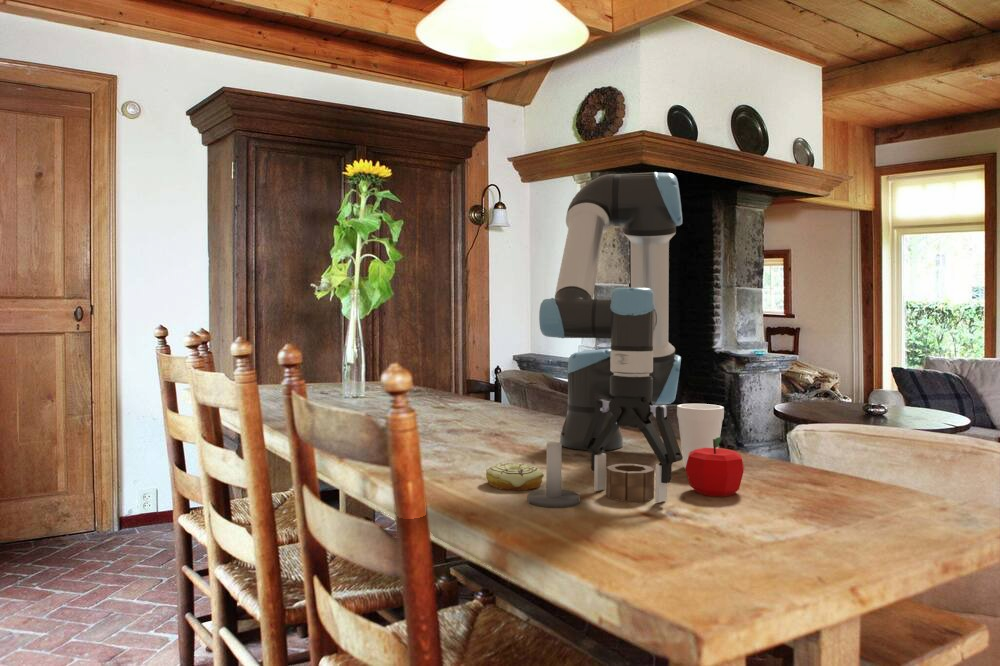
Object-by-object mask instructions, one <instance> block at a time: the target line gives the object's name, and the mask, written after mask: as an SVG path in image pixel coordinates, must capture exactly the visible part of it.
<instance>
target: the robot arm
mask: <svg viewBox="0 0 1000 666" xmlns="http://www.w3.org/2000/svg"><path fill="white" fill-rule="evenodd" d="M679 186H680V185H679V181H678V178H677V176H676V175H675V174H673V173H671V172H657V171H654V172H653V171H652V172H636V173H609V174H605V175H600V176H598V177H596V178H593V179H592V180H591V181H589V182H588V183H585V185H584V186H582V188H581V189H580V190H579V191H578V192H577V193H576V194H575V196H574V197H573V198H572V200H571V202H570V203H569V205H568V207H567V210H566V216H565V224H566V228H567V234H566V240H565V244H564V249H563V254H562V259H561V263H560V269H559V273H558V278H557V282H556V288H555V294H554V297H551V298H545V299H542V302H541V303H540V306H539V312H538V313H539V315H538V317H539V318H538V319H539V320H538V321H539V322H538V323H539V329H540V332H541V334H542V335H543V336H544V337H546V338H547V337H548V338H557V339H558V338H559V339H610V348H602V349H591V350H590V349H589V350H585V351H577V352H573V353H572V354H570V356H569V357H568V362H567V363H568V364H567V371H566V374H567V413H566V417H565V419H564V423H563V425H562V429H561V432H560V435H559V443H561V444H562V447H564V448H568V449H573V450H582V451H588V452H589V453H590V469H591V472H594V475H593V476H594V477H593V478H594V479H593V484H594V485H593V486H594V487H593V491H595V492H600V491H603V490H606V467H607V453H604V452H605V451H608V450H609V451H610V450H616V449H620V448H622V447H623V446H624V445H623V444H624V442H623V441H624V437H623V434H622V430H621V427H630V428H634V429H636V428H637V429H638V430H639V432H641V433H642V435H643V436H644V438H645V439H646V441H647V443H648V444H649V446H650V448H651V449H652V450H651V451H653V453H654V454H655V457H656V458H657V460H658V461H659V463H656V464H655V484H654V502H655V503H658V504H659V503H662V502H665V501H667V500H668V484H669V483H671V482H672V468H673V467H672V466H673V464H674V463H677V462H679V461H683V455H682V450H681V448H680V446H679V443H678V440H677V437H676V434H675V431H674V429H673V425H672V422H671V420H670V411H669V409H670V408H669V406H668V405H670V404H672V403H674V401H675V400H676V395H677V392H678V387H679V386H678V385H679V384H678V383H679V380H680V379H679V377H680V369H681V361H682V356H680V355H679V354H676V348H675V346H674V345H672V343H670V342H669V320H670V319H669V312H670V311H669V308H670V307H669V304H670V302H669V301H670V300H669V299H670V298H669V297H670V296H669V295H670V294H669V290H670V289H669V288H670V287H669V283H670V282H669V281H670V279H669V277H670V276H669V275H670V274H669V271H670V270H669V269H670V261H669V259H670V255H669V254H670V252H669V251H670V249H669V248H670V240H672V238H673V237H674V236H675V235H676V234H677V233H676V232H677V227H680V226H681V225H682V224H683V211H682V202H681V194H680V193H681V192H680V187H679ZM609 227H623V235H624V236H625V237H626V239H628V240H629V242H630V287H616V288H614V289H613V290H612V292H611V298H609V299H608V298H607V299H604V298H603V299H602V298H601V299H599V298H594V292H595V288H596V281H597V275H598V274H597V273H598V269H599V268H598V267H599V261H600V255H601V250H602V249H601V248H602V242H603V235H604V234H605V233H606V232H607V230H608V229H609ZM652 414H653V417H654V418H655V421H656V425H657V427H658V431H659V433H658V432H657V429H656V428H655V424H654V421H653V420H652V419H651V416H652ZM659 434H660V435H659Z"/></svg>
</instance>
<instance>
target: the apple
mask: <svg viewBox="0 0 1000 666" xmlns="http://www.w3.org/2000/svg"><path fill="white" fill-rule="evenodd" d="M722 440H723V437H720V438H719V437H717V438H716V439H713V447H714V448H702V449H696V450H694V451H691V452H689V456H688V460H687V464H686V468H684V470H685V473H686V475H687V479H688V482H689V485H690V487H691V488H692V489H693V490H694V491H695V492H696V493H697V494H700V495H703V496H706V497H728V496H729V497H730V496H733V495H735V493H737V492H738V490H739V489H740V487H741V483H742V481H743V480H742V479H743V475H744V472H745V465H744V460H743V457H742V455H741V454H740V453H739V452H737V451H736V450H731V449H726V448H719V447H718V446H720V443H721V441H722ZM717 447H718V448H717Z"/></svg>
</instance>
